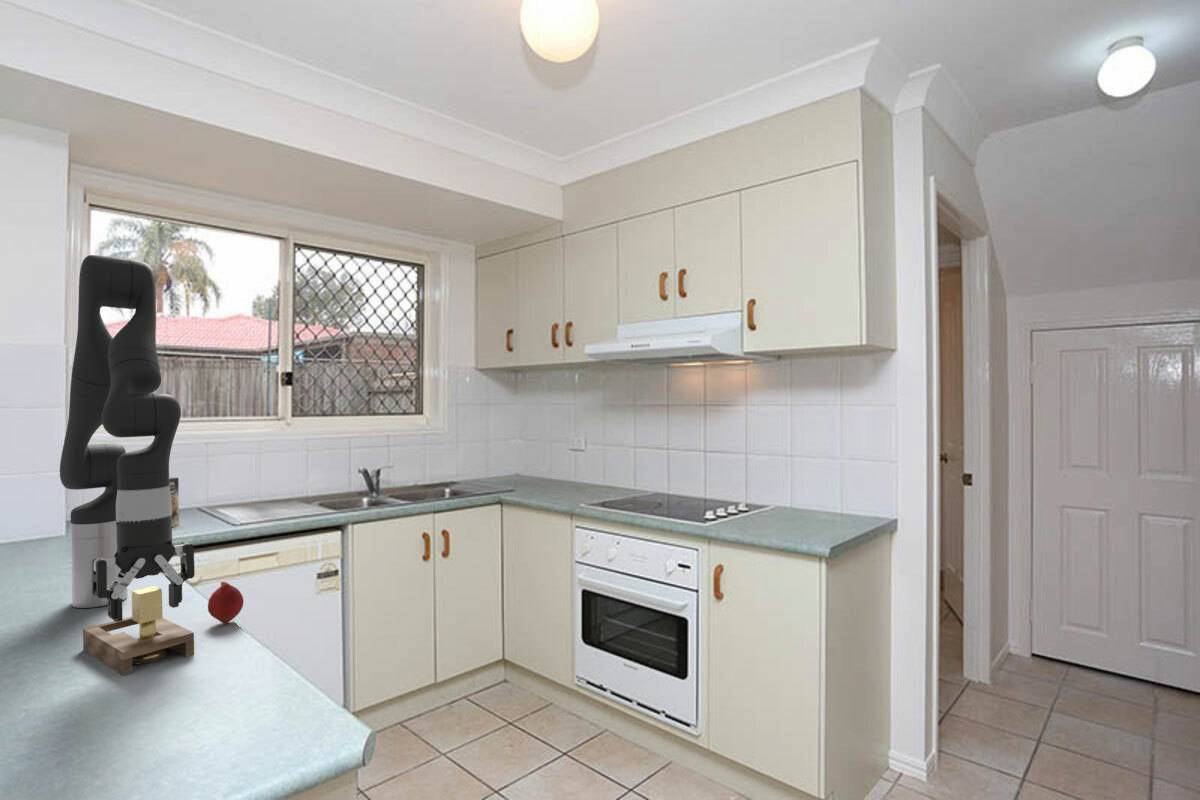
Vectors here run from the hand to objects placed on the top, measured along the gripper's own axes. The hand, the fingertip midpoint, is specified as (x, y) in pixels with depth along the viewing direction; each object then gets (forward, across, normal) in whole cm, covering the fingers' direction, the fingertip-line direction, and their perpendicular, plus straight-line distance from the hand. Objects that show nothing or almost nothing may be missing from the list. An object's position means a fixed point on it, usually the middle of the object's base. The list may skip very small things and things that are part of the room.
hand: (146, 613), depth 106 cm
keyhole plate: (+7, 0, -4) cm, 8 cm away
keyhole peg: (+7, 0, 0) cm, 7 cm away
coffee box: (+7, -45, -118) cm, 126 cm away
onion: (+7, -15, -6) cm, 18 cm away
